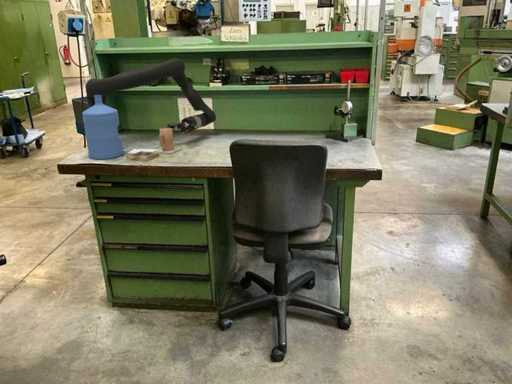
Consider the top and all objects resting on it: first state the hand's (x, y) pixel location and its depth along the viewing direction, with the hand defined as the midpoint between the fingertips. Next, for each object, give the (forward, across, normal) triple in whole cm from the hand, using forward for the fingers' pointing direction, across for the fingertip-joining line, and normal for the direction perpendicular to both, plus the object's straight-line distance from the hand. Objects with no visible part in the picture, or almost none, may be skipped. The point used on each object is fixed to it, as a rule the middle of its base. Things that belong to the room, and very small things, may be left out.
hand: (173, 129), depth 204 cm
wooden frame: (+20, -4, +9) cm, 23 cm away
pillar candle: (+7, 0, +9) cm, 11 cm away
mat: (+6, 0, +9) cm, 11 cm away
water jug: (+23, -23, +10) cm, 34 cm away
